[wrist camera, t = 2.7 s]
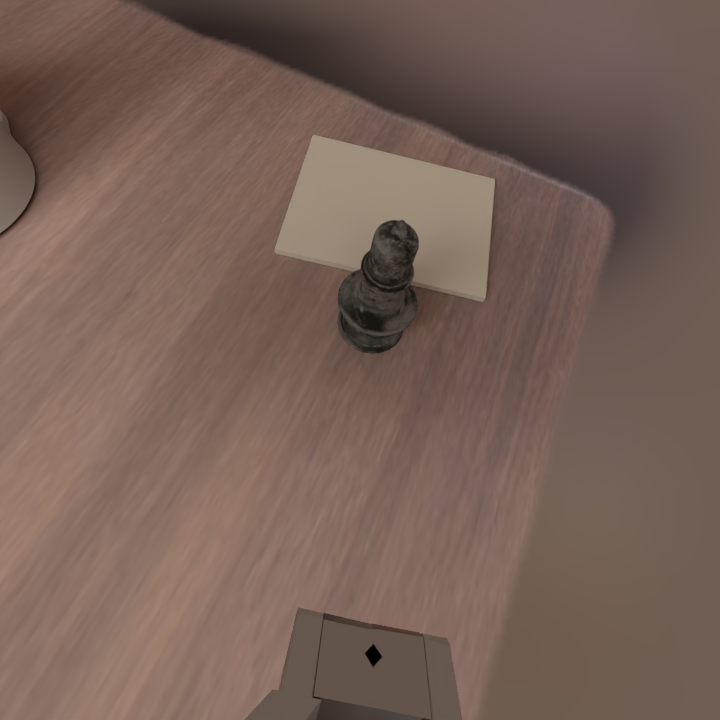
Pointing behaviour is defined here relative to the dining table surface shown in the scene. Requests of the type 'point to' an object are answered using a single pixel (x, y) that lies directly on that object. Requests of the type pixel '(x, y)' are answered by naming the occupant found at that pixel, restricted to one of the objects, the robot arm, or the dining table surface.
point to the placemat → (391, 214)
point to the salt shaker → (380, 291)
